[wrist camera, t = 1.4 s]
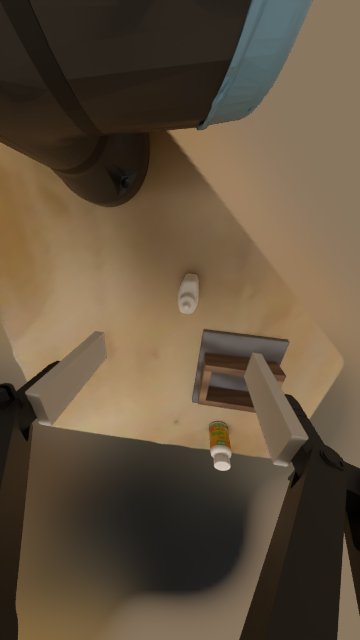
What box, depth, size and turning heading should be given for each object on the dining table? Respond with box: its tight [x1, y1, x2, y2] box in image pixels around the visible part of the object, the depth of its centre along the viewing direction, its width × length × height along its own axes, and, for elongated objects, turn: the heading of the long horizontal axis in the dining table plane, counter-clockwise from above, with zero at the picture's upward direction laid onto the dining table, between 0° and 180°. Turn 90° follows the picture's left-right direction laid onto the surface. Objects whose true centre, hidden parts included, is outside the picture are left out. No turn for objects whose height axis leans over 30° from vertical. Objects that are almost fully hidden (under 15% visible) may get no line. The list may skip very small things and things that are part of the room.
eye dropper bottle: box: [178, 273, 199, 314], centre depth 27 cm, size 4×6×12 cm
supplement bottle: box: [209, 422, 231, 471], centre depth 45 cm, size 5×5×10 cm
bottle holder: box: [192, 330, 290, 413], centre depth 38 cm, size 22×18×6 cm
